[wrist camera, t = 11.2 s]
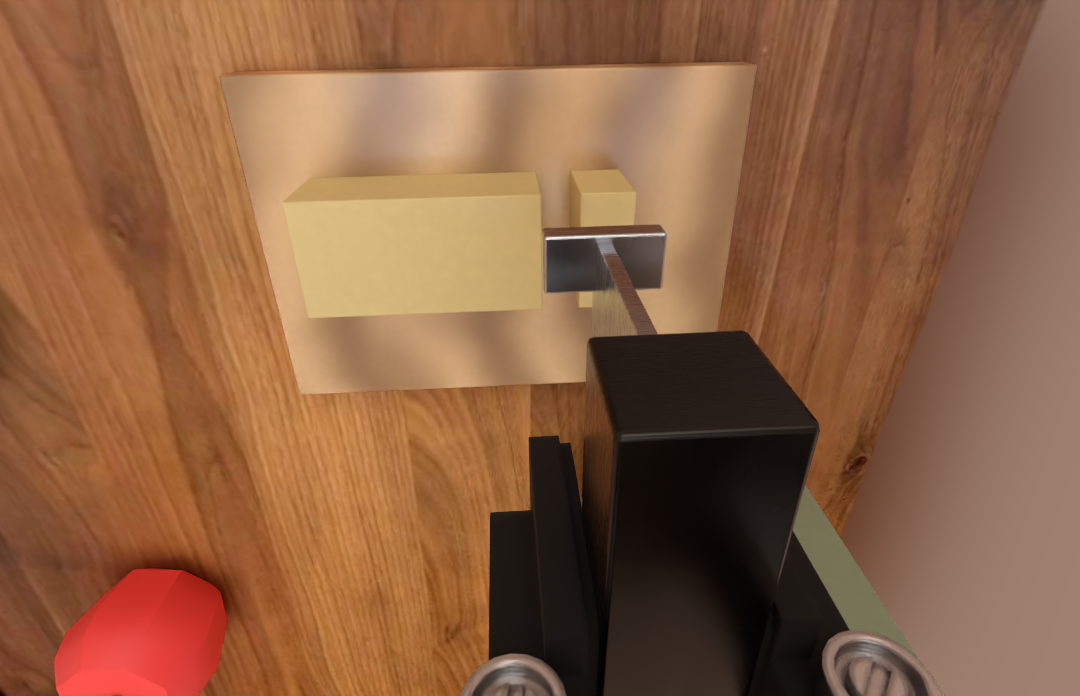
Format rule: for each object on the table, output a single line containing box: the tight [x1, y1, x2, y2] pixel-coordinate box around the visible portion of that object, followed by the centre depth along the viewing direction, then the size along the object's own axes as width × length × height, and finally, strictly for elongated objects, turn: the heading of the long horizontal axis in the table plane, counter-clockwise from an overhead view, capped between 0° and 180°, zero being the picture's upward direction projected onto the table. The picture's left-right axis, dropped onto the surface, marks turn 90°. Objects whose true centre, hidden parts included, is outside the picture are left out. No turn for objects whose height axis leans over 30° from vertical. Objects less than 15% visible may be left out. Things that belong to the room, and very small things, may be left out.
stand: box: [793, 485, 918, 658], centre depth 28 cm, size 10×12×18 cm
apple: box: [54, 568, 227, 696], centre depth 33 cm, size 8×8×8 cm
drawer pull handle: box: [542, 224, 820, 696], centre depth 11 cm, size 2×9×7 cm, turn 1°
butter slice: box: [570, 169, 636, 308], centre depth 24 cm, size 2×4×4 cm, turn 1°
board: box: [219, 62, 757, 395], centre depth 26 cm, size 20×14×2 cm
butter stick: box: [282, 172, 543, 318], centre depth 23 cm, size 9×4×4 cm, turn 91°
